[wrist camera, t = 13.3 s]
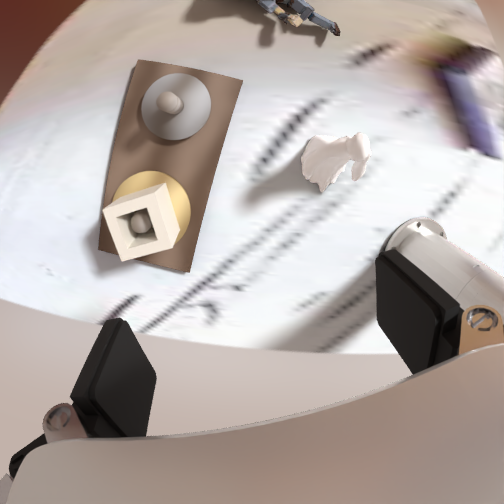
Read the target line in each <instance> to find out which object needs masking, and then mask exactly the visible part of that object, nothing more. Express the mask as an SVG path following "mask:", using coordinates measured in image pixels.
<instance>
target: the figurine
mask: <svg viewBox="0 0 504 504" xmlns="http://www.w3.org/2000/svg"><path fill="white" fill-rule="evenodd" d="M369 147H370V143H369V139H368V138H367V136H366V135H364V134H363V133H357V134H356V135H354V136H353V137H347V136H346V137H342V138H339V139H337V138H336V137H334V136H321V135H316V136H314V137H312V138H311V140H310V141H309V142H308V144H307V146H306V149H305V151H304V153H303V155H302V157H301V162H302V174H303V175H304V176H305V177H306V179H307V180H308V179H310V182H311V183H318V185H319V189H320V191H321V192H324V190H325V189H326V187H327V186H328V185H329V184H330V183H333V184H334V183H335V181H336V179H337V177H338V176H339V175H340V173H342V172H344V171H345V167H346V166H345V165H346V163H347V162H348V161H349V160H351V159H352V160H353V161H355V162H354V164H353V166H352V169H351V171H352V180H353V181H357V180H359V179H360V178H361V177H362V176H363V175H364V173H365V169H366V164H367V162H368V160H369V158H370V157H371V149H370V148H369Z"/></svg>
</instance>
